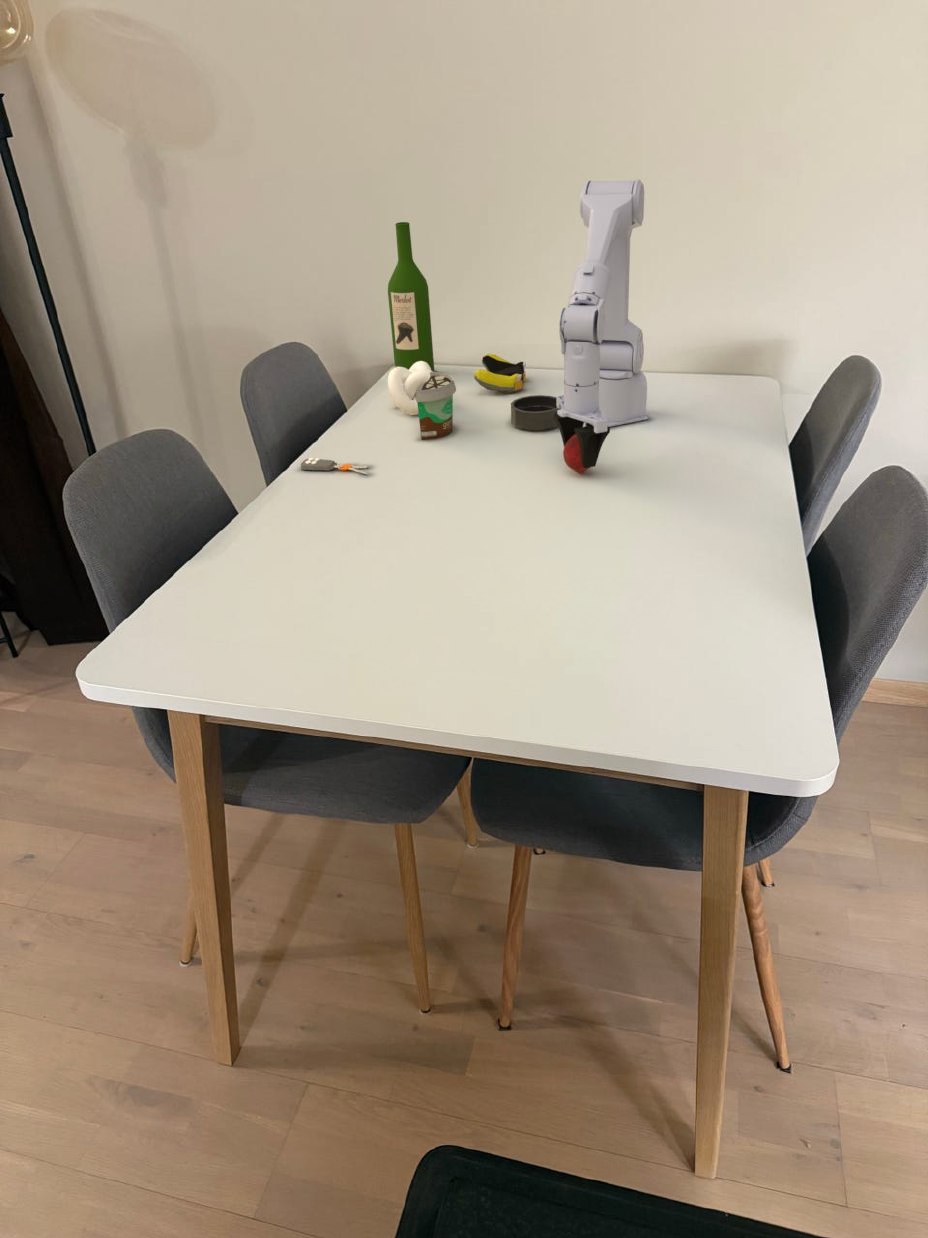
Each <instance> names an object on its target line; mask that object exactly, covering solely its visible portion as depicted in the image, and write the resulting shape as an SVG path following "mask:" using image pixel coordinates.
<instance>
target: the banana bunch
mask: <svg viewBox="0 0 928 1238" xmlns="http://www.w3.org/2000/svg"><path fill="white" fill-rule="evenodd" d="M481 363H482V365H483V366H484V368H485V369H481V368H479V369H478V370H476V371H474V373H473V378H474V380H475V381H476V382H477V383H478V384H479V385H480V386H481V387H482V388H484V389H485V390H486V391H487V390H488V391H497V392H498V391H499V392H501V393H502V394H503V395H504V394H505V395H510V394H511V395H512V394H513V393H514V392H517V391H520V390H521V389H523V383H524V382H525V381H526V380H527V379H526V378H527V377H526V371H525V369H526V366H527V362H524V361H518V362H517V363H512V362H510V361H508V360H507V359H504V358H502V357H500V356H498V355H497V354H492V353H487V354H485V355H484V356H482V359H481Z"/></svg>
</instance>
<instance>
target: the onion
mask: <svg viewBox="0 0 928 1238" xmlns="http://www.w3.org/2000/svg"><path fill="white" fill-rule="evenodd" d="M562 454H563V460H564V462H565V464H566V466H567V467H568V468H570V469H571V470H572V471H574V472H576V473H577V474H579V475H582V474H584V473H586V472H587V471H588V470H590V468H592V467H590V468H584V467H583V465H582V460H581V449H580V444H579V440H578V438H577V435H576V434H575V435H573V436H572V437H571V438H570V439H569V440H568V441H567V443H566V444H565V447H564V446H563V452H562Z"/></svg>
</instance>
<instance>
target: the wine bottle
mask: <svg viewBox="0 0 928 1238" xmlns="http://www.w3.org/2000/svg"><path fill="white" fill-rule="evenodd" d="M394 225H395V235H396V248H397V250H396V251H397V264H396V265H395V268H394V270H393V272H392V274H391V276H390V279H389V280H388V284H387V297H388V298H387V299H388V308H389V319H390V327H391V328H390V329H391V339H392V349H393V360H394V368H396V367H404V368H406V369H408V370H409V369H410V368H411V366H412V365H413V364H414V363H416V362H419V361H424V362H427V363H428V365H429V366H430V368H431V371H433V372H435V361H434V359H435V358H434V347H433V333H432V320H431V319H432V318H431V307H430V293H429V285H428V281H427V279H426V277H425V276H424V275H423V273H422V271H421V270H420V269H419V267H418V266H417V264H416V262H415V261H414V257H413V248H412V237H411V227H410V226H411V225H410V222H408V221H400V222H396V223H395V224H394Z"/></svg>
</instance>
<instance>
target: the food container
mask: <svg viewBox="0 0 928 1238" xmlns="http://www.w3.org/2000/svg"><path fill="white" fill-rule="evenodd" d="M456 392H457V387H456V383H455V381H454V380H453V377H452V376H451V375H450V374H448V373H444V372H440V371H439V372H438V371H434V372H430V379H429V380H428V381H427V382H425V383H424V385H423V387H422V389H421V390H416V402H417V404H418V413H419V414H418V421H419V422H418V423H419V430H420V439H421V441H430V440H431V441H432V440H438V439H441V438H445V437H448V436H449V435H450V434H452V433H453V429H454V428H453V424H454V423H453V422H454V421H453V420H454V418H453V417H454V415H453V413H454V412H453V411H454V394H455V393H456Z"/></svg>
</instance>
